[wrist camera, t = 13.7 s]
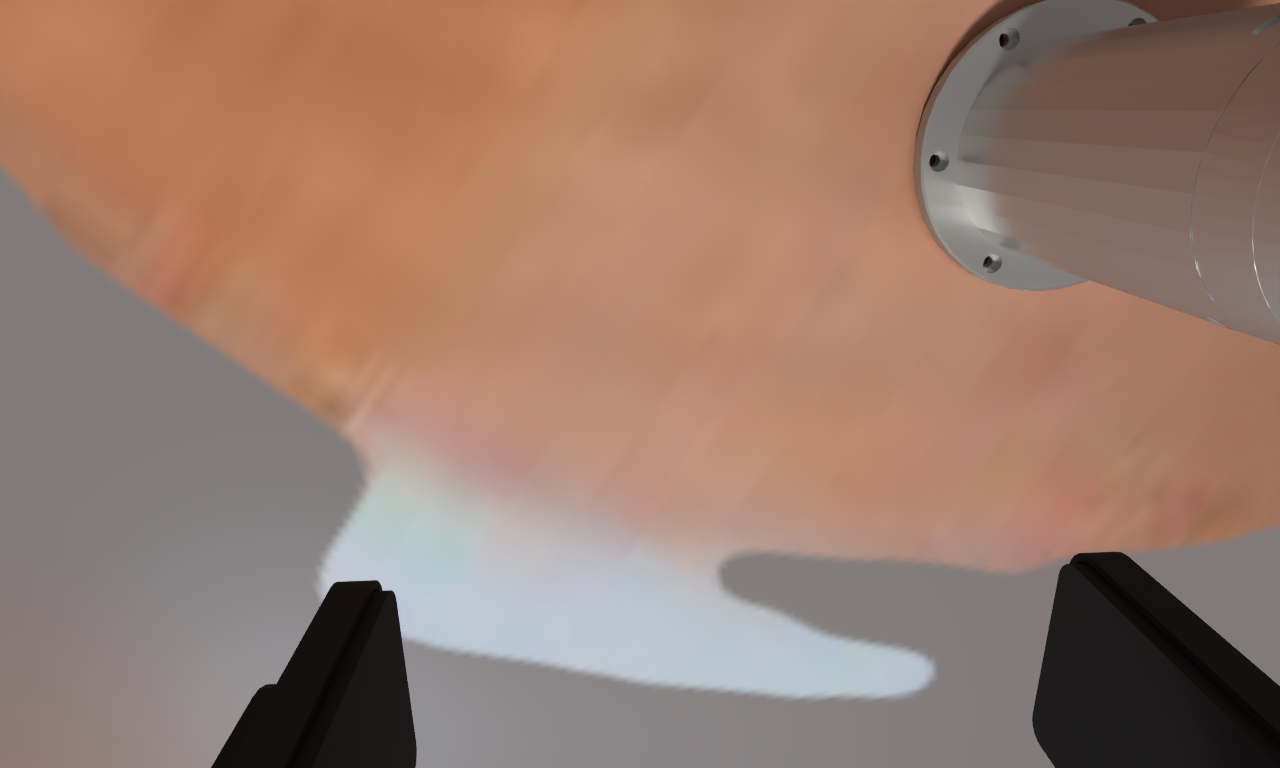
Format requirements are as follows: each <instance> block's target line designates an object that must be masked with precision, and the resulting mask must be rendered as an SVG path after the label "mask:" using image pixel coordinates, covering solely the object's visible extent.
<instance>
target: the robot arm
mask: <svg viewBox="0 0 1280 768" xmlns="http://www.w3.org/2000/svg"><path fill="white" fill-rule="evenodd" d="M1000 35H1002V36H1003V37H1004V43H1003V45H1002V46H1000V43H999V38H1000ZM932 155H934V156H935V158H936V161H935V163H934V164H933V165H932V166H930V164H929V161H930V157H931V156H932ZM913 171H914V182H915V192H916V197H917V201H918V204H919V207H920V211H921V214H922V217H923V220H924V222H925V224H926V226H927V227H928V229H929V231H930V233H931V235H932V237H933V238H934V240H935V242H936V243H937V244H938V245H939V246H940V247H941V249H942V250H943V251H944V252H945V253H946V254H947V255H948V257H949V258H950V259H951V260H953V261H954V262H955V263H957V264H958V265H959V266H961V267H962V268H964V269H965V270H966V271H968V272H969V273H971V274H973V275H975V276H977V277H979V278H981V279H983V280H986V281H988V282H991V283H994V284H997V285H1000V286H1003V287H1006V288H1009V289H1018V290H1027V291H1043V290H1054V289H1061V288H1065V287H1069V286H1072V285H1076V284H1080V283H1083V282H1086V281H1088V280H1091V281H1093V282H1096V283H1099V284H1102V285H1105V286H1108V287H1111V288H1114V289H1117V290H1119V291H1122V292H1125V293H1128V294H1131V295H1134V296H1137V297H1140V298H1143V299H1145V300H1148V301H1151V302H1154V303H1157V304H1160V305H1163V306H1166V307H1169V308H1171V309H1174V310H1177V311H1180V312H1183V313H1186V314H1189V315H1192V316H1195V317H1197V318H1200V319H1203V320H1206V321H1209V322H1212V323H1215V324H1218V325H1221V326H1223V327H1226V328H1229V329H1232V330H1235V331H1238V332H1241V333H1245V334H1247V335H1250V336H1253V337H1256V338H1259V339H1262V340H1266V341H1270V342H1272V343H1275V344H1278V345H1280V3H1276V4H1269V5H1263V6H1256V7H1250V8H1243V9H1237V10H1230V11H1224V12H1217V13H1211V14H1204V15H1198V16H1191V17H1185V18H1178V19H1172V20H1165V21H1159V20H1158V19H1157V18H1156V17H1155V16H1154V15H1153V14H1151V13H1149V12H1147V11H1145V10H1143V9H1142V8H1140V7H1138V6H1136V5H1134V4H1132V3H1131V2H1128V1H1124V0H1044V1H1041V2H1037V3H1034V4H1031V5H1027V6H1024V7H1022V8H1020V9H1018V10H1016V11H1014V12H1012V13H1010V14H1008V15H1006V16H1004V17H1002V18H1000V19H998V20H997V21H995V22H994V23H993V24H991V25H990V26H989V27H987V28H986V29H985V30H983V31H982V32H981V33H979V34H978V35H977V36H975V37H974V38H973V39H972V40H971V41H970V42H969V43H968V44H967V45H966V46H965V47H964V48H963V50H962V51H961V52H960V53H959V54H958V55H957V56H956V57H955V58H954V59H953V60H952V62H951V63H950V65H949V66H948V67H947V69H946V70H945V72H944V73H943V75H942V76H941V78H940V79H939V81H938V82H937V84H936V85H935V87H934V90H933V92H932V94H931V96H930V98H929V101H928V103H927V105H926V107H925V109H924V112H923V115H922V118H921V122H920V126H919V130H918V134H917V137H916V142H915V153H914V165H913ZM987 256H988V261H987V263H986V264H985V265H983V263H984V260H985V259H986V257H987ZM1032 719H1033V720H1032V721H1033V728H1034V733H1035V735H1036V738H1037V740H1038V742H1039V744H1040V746H1041V747H1042V749H1043V750H1044V752H1045V753H1046V755H1047V756H1048V758H1049V759H1050V760H1051V762H1052V763H1053V765H1054V766H1055V768H1280V686H1279V685H1277V684H1276V683H1275V682H1274V681H1273V680H1272V679H1271V678H1269V677H1268V676H1267V675H1266V674H1265V673H1264V672H1262V671H1261V670H1260V669H1259V668H1258V667H1257V666H1255V665H1254V664H1253V663H1252V662H1251V661H1250V660H1248V659H1247V658H1246V657H1245V656H1244V655H1243V654H1241V653H1240V652H1239V651H1238V650H1237V649H1236V648H1234V647H1233V646H1232V645H1231V644H1230V643H1228V642H1227V641H1226V640H1225V639H1224V638H1223V637H1221V636H1220V635H1219V634H1218V633H1217V632H1216V631H1215V630H1213V629H1212V628H1211V627H1210V626H1209V625H1208V624H1206V623H1205V622H1204V621H1203V620H1201V618H1199V617H1198V616H1197V615H1196V614H1195V613H1194V612H1192V611H1191V610H1190V609H1189V608H1188V607H1186V606H1185V605H1184V604H1183V603H1182V602H1181V601H1179V600H1178V599H1177V598H1176V597H1175V596H1174V595H1172V594H1171V593H1170V592H1169V591H1167V589H1165V588H1164V587H1163V586H1162V585H1161V584H1160V583H1159V582H1157V581H1156V580H1155V579H1154V578H1153V577H1151V576H1150V575H1149V574H1148V573H1147V572H1146V571H1144V570H1143V569H1142V568H1141V567H1140V566H1139V565H1138V564H1136V563H1135V562H1134V561H1133V560H1132V559H1131V558H1129V557H1128V556H1127V555H1125V554H1123V553H1121V552H1099V553H1079V554H1077V555H1075V556H1074V557H1073V558H1072V559H1071V561H1070V564H1066V565H1064V566H1063V567H1062V568H1061V570H1060V573H1059V577H1058V583H1057V588H1056V593H1055V598H1054V604H1053V609H1052V614H1051V620H1050V625H1049V631H1048V636H1047V641H1046V646H1045V652H1044V657H1043V662H1042V668H1041V673H1040V679H1039V684H1038V689H1037V694H1036V700H1035V705H1034V711H1033V718H1032ZM416 750H417V748H416V739H415V732H414V724H413V717H412V710H411V703H410V696H409V688H408V681H407V674H406V667H405V660H404V652H403V645H402V638H401V631H400V624H399V616H398V609H397V602H396V597H395V594H394V592H393V591H382V587H381V585H380V583H379V582H378V581H377V580H375V581H349V582H336V583H334V584H333V585H332V587H331V588H330V590H329V592H328V593H327V595H326V597H325V599H324V600H323V602H322V604H321V606H320V608H319V609H318V611H317V613H316V615H315V616H314V618H313V620H312V622H311V624H310V625H309V627H308V629H307V631H306V632H305V634H304V636H303V638H302V640H301V641H300V643H299V645H298V647H297V648H296V650H295V652H294V654H293V656H292V658H291V659H290V661H289V663H288V665H287V666H286V668H285V670H284V672H283V674H282V675H281V677H280V679H279V681H278V682H277V684H269V685H265V686H263V687H262V688H260V689H259V690H258V691H257V692H256V694H255V695H254V696H253V698H252V699H251V701H250V703H249V704H248V706H247V708H246V710H245V711H244V713H243V715H242V716H241V718H240V720H239V721H238V723H237V725H236V727H235V728H234V730H233V732H232V733H231V735H230V737H229V738H228V740H227V742H226V744H225V745H224V747H223V748H222V750H221V752H220V754H219V755H218V757H217V759H216V761H215V762H214V764H213V765H212V767H211V768H415V766H416Z"/></svg>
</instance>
